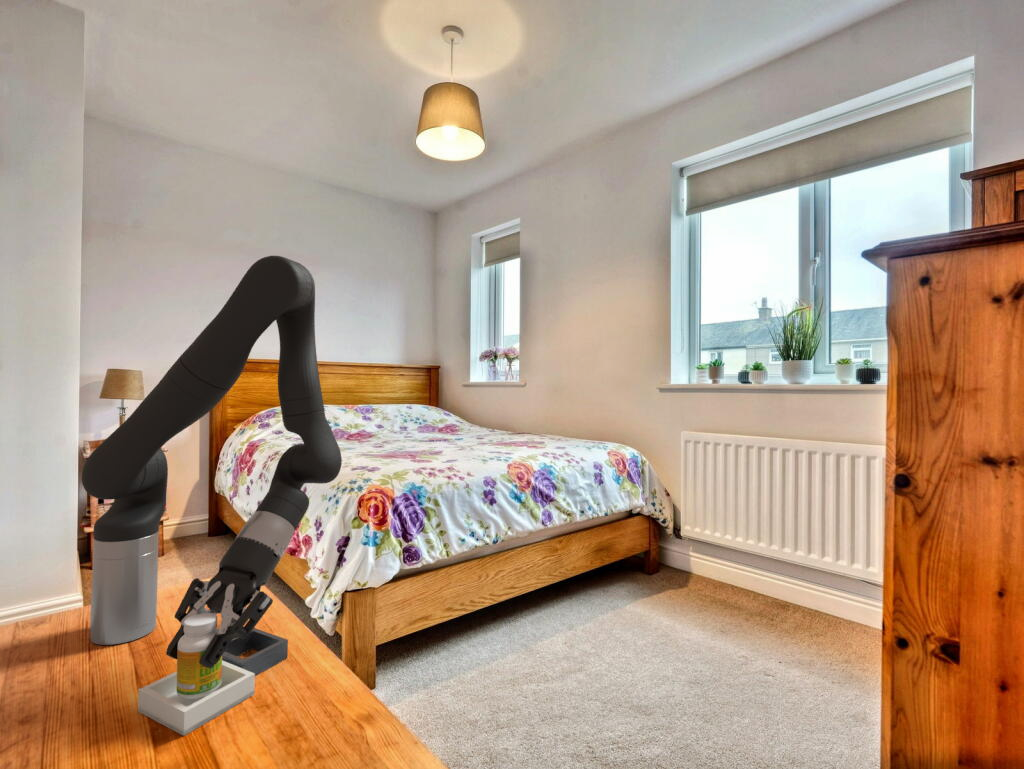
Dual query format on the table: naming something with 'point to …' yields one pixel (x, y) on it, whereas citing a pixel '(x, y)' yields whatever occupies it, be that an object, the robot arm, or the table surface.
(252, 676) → the tray
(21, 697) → the table surface
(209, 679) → the supplement bottle
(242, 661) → the holder sleeve
